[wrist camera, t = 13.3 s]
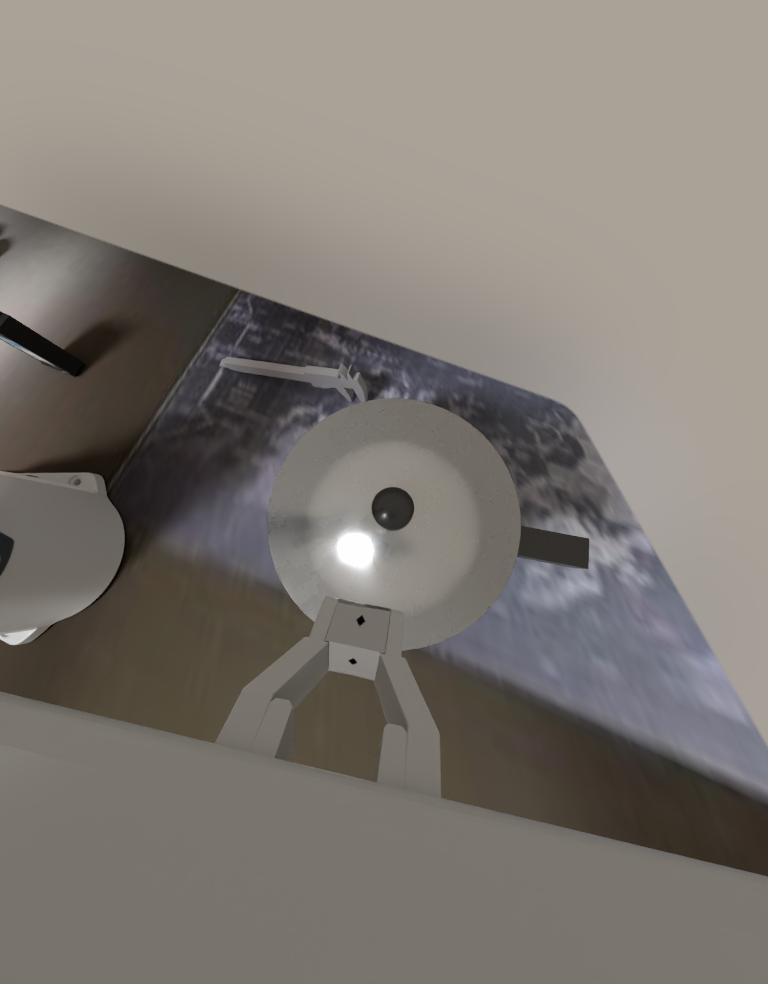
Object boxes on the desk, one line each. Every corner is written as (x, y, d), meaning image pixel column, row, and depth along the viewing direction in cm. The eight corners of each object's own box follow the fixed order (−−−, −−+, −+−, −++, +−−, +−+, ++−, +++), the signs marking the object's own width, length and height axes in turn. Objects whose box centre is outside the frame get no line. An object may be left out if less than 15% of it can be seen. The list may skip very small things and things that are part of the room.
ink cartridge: (48, 367, 38) (-42, 316, 30) (58, 353, 38) (-28, 300, 30) (76, 378, 37) (-9, 330, 29) (87, 364, 37) (6, 313, 30)
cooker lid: (503, 674, 19) (518, 689, 17) (239, 615, 20) (221, 622, 18) (525, 423, 23) (540, 409, 21) (306, 387, 25) (298, 370, 22)
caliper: (368, 399, 36) (364, 367, 30) (366, 407, 35) (360, 375, 29) (224, 361, 37) (192, 323, 31) (220, 368, 37) (187, 331, 31)
